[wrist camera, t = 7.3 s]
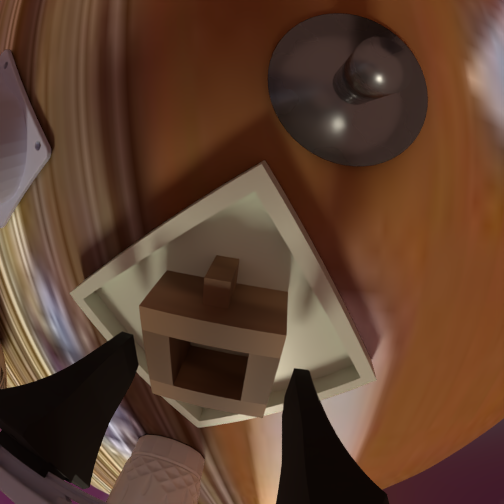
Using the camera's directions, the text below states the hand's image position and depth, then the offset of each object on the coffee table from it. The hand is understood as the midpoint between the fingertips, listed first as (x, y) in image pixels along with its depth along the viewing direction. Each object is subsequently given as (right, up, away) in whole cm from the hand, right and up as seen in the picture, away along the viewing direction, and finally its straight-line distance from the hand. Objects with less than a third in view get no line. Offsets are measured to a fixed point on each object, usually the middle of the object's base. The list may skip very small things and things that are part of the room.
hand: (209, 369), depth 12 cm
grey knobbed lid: (+6, +11, -2) cm, 13 cm away
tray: (0, +1, +3) cm, 3 cm away
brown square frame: (0, +1, +2) cm, 3 cm away
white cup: (-6, -14, +11) cm, 19 cm away
